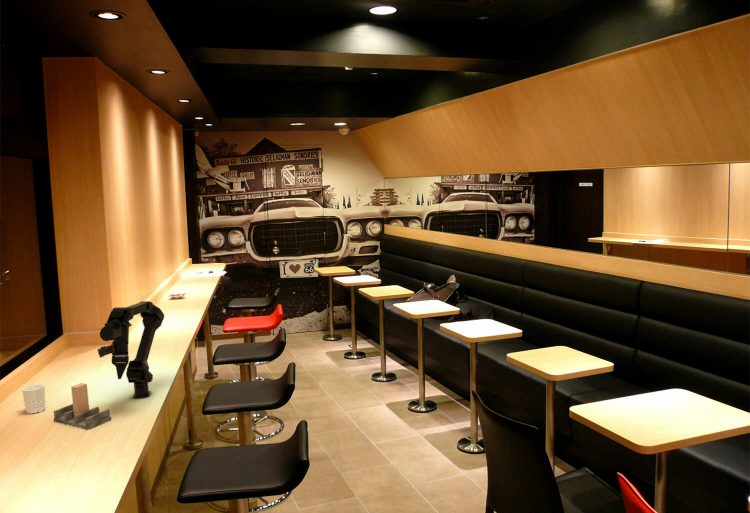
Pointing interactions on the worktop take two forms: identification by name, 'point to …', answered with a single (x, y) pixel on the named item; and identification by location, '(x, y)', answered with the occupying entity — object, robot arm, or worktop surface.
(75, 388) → the clay bar
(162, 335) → the worktop surface
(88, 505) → the worktop surface
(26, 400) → the white cup
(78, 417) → the rack
